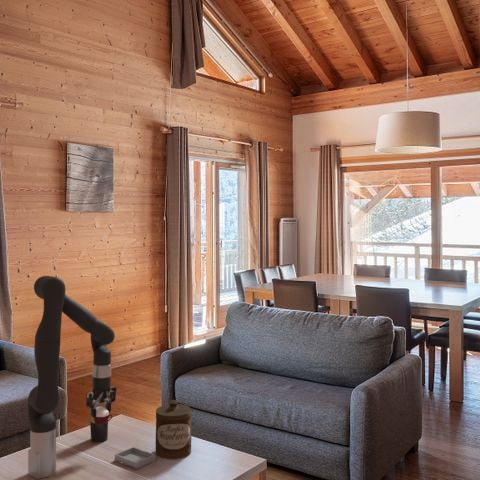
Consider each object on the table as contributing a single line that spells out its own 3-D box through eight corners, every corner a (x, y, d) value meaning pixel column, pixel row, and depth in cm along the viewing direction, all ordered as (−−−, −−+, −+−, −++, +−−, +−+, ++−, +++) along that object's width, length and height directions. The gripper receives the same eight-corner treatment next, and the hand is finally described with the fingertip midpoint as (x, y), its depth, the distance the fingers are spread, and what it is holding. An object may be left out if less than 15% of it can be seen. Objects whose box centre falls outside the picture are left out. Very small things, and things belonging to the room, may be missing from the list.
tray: (136, 469, 222) (136, 463, 222) (114, 460, 230) (114, 454, 230) (155, 461, 230) (155, 454, 230) (133, 452, 238) (133, 446, 238)
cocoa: (112, 422, 238) (115, 393, 238) (108, 427, 231) (110, 397, 231) (90, 419, 238) (93, 391, 239) (85, 424, 232) (87, 395, 232)
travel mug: (110, 436, 254) (110, 392, 254) (104, 443, 247) (104, 397, 246) (93, 435, 255) (93, 391, 254) (87, 442, 248) (87, 397, 247)
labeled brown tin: (156, 461, 230) (156, 407, 229) (154, 446, 244) (154, 395, 243) (193, 458, 233) (193, 405, 232) (189, 444, 247) (189, 393, 246)
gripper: (93, 380, 227) (92, 421, 227) (121, 373, 238) (120, 412, 238) (81, 376, 231) (80, 417, 232) (109, 369, 243) (108, 408, 243)
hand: (100, 414), depth 235 cm, fingers closed on cocoa, 6 cm apart
